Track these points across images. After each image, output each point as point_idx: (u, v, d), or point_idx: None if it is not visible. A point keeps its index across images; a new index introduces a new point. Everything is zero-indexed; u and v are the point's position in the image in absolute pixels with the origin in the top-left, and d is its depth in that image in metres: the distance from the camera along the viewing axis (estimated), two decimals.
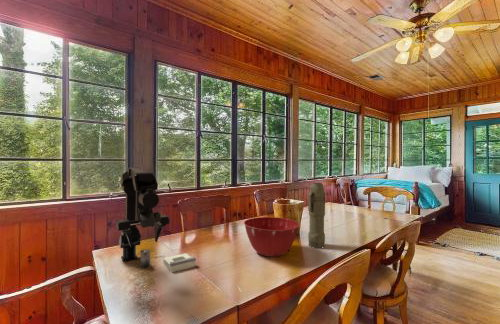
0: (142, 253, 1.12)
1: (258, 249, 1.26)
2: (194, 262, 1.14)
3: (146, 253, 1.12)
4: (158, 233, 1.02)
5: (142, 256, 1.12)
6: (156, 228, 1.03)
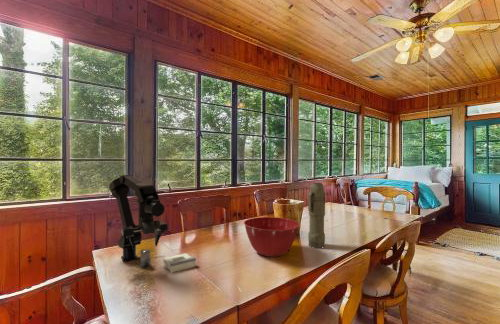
0: (142, 253, 1.12)
1: (258, 249, 1.26)
2: (194, 262, 1.14)
3: (146, 253, 1.12)
4: (158, 238, 1.16)
5: (142, 256, 1.12)
6: (156, 234, 1.17)
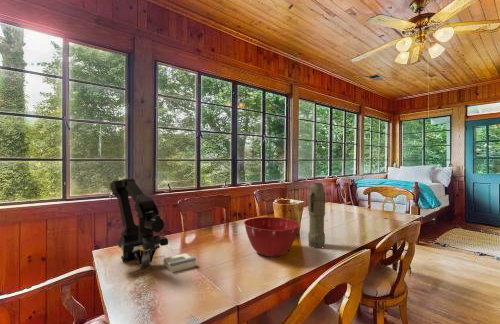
0: (142, 253, 1.12)
1: (258, 249, 1.26)
2: (194, 262, 1.14)
3: (146, 253, 1.12)
4: (152, 254, 1.15)
5: (142, 256, 1.12)
6: (151, 249, 1.16)
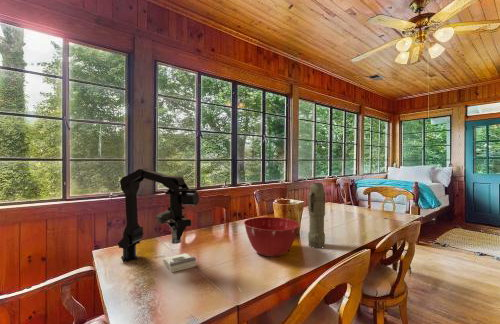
0: None
1: (258, 249, 1.26)
2: (194, 262, 1.14)
3: None
4: (176, 232, 1.12)
5: None
6: None
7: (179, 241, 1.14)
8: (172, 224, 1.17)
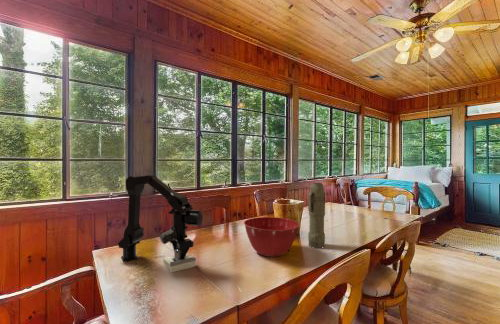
0: None
1: (258, 249, 1.26)
2: (194, 262, 1.14)
3: None
4: None
5: None
6: None
7: None
8: (174, 242, 1.19)
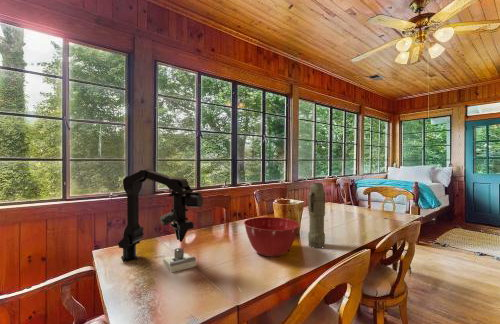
0: None
1: (258, 249, 1.26)
2: (194, 262, 1.14)
3: None
4: (178, 234, 1.13)
5: None
6: None
7: None
8: (176, 226, 1.17)
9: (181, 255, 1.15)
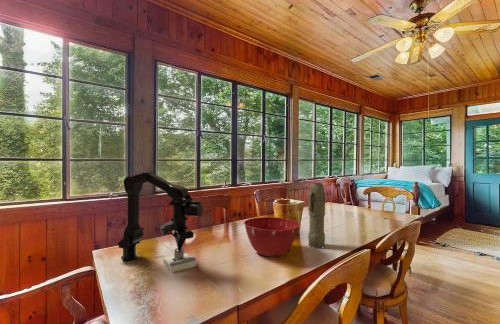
0: None
1: (258, 249, 1.26)
2: (194, 262, 1.14)
3: None
4: (177, 242, 1.15)
5: None
6: None
7: None
8: (177, 235, 1.16)
9: (181, 255, 1.15)
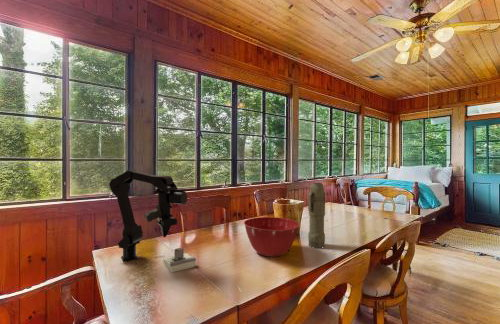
0: None
1: (258, 249, 1.26)
2: (194, 262, 1.14)
3: None
4: (162, 230, 1.16)
5: None
6: None
7: None
8: None
9: (181, 255, 1.15)
